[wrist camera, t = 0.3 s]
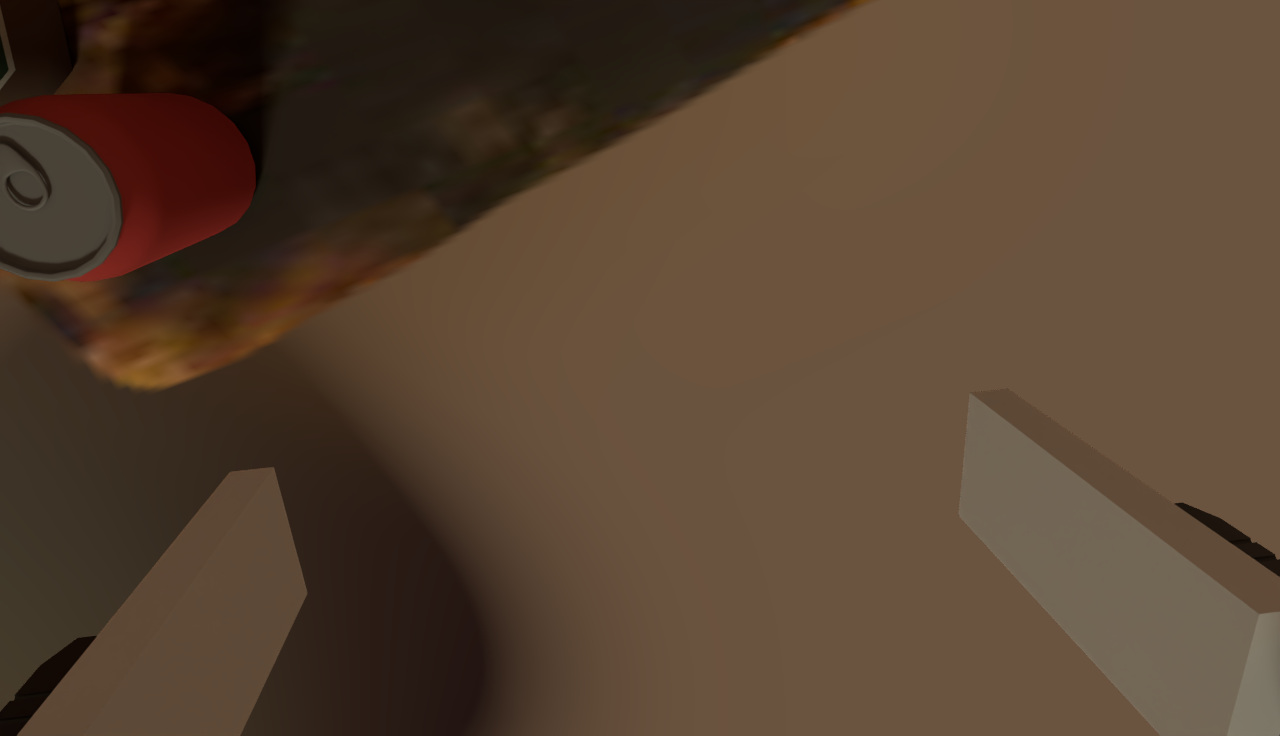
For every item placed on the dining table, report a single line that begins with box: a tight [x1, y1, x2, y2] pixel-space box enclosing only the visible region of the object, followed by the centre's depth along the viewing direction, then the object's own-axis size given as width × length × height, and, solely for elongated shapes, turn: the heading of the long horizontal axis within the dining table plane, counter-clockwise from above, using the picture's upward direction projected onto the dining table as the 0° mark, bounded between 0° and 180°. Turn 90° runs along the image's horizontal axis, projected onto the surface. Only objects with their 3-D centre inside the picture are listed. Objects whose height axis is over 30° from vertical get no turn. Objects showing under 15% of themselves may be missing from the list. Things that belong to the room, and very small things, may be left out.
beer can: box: [0, 93, 256, 282], centre depth 32 cm, size 7×7×12 cm
